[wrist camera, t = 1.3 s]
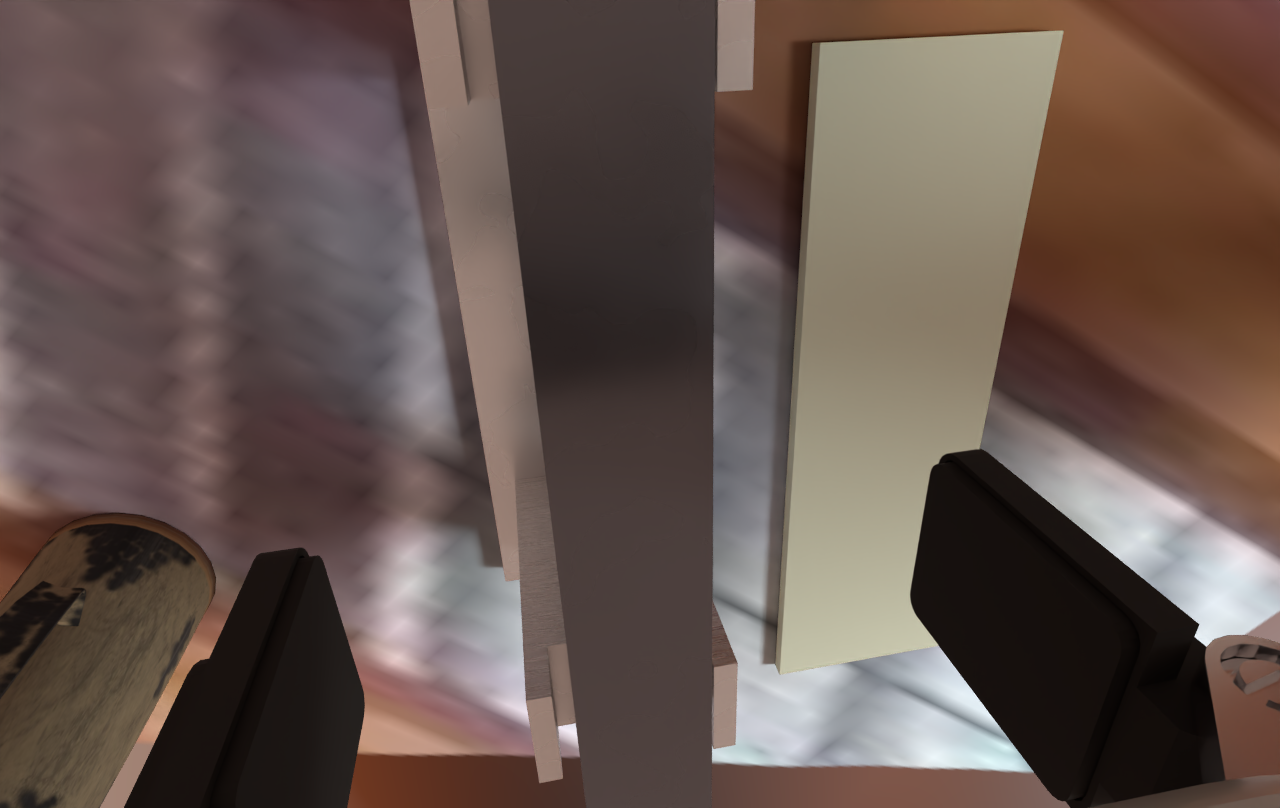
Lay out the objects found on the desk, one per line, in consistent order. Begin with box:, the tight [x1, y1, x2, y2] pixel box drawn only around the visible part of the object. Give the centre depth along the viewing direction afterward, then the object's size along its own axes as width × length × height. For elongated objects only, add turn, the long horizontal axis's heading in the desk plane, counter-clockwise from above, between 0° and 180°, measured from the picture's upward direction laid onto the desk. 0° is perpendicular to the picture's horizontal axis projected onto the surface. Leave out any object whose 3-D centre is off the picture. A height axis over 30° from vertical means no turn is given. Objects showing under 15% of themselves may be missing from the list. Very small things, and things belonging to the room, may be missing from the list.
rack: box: [409, 0, 755, 783], centre depth 19 cm, size 7×22×11 cm, turn 2°
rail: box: [488, 0, 715, 808], centre depth 14 cm, size 3×24×3 cm, turn 2°
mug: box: [0, 513, 216, 808], centre depth 20 cm, size 8×6×12 cm
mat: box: [775, 30, 1064, 675], centre depth 28 cm, size 8×26×1 cm, turn 2°
